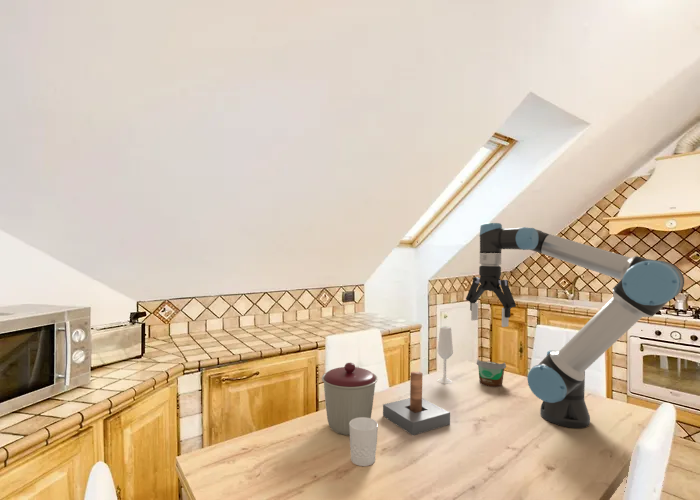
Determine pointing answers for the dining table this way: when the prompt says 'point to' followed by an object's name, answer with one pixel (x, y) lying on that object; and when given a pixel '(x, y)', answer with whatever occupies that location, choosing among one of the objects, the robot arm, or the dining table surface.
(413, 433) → the socket block
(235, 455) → the dining table surface
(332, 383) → the canister
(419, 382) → the peg
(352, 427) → the white cup
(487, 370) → the food container
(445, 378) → the champagne flute
